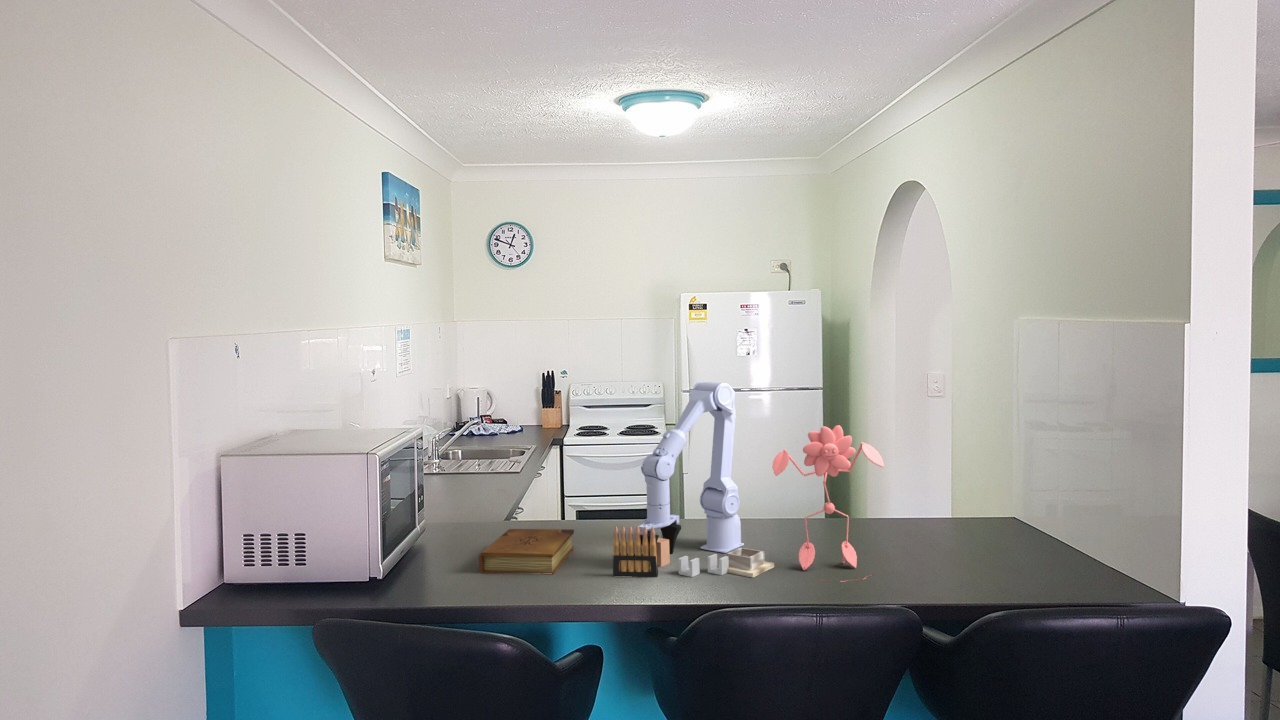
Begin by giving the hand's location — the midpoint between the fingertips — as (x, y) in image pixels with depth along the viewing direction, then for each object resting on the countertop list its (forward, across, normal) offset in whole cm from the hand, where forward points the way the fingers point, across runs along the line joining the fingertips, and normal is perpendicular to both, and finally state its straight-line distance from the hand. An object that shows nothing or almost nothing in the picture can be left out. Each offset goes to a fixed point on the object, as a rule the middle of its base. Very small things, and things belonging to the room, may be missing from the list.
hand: (659, 557), depth 213 cm
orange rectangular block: (+2, 0, 0) cm, 2 cm away
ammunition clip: (+2, +11, +1) cm, 11 cm away
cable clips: (+2, 0, +14) cm, 14 cm away
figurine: (+2, -17, +38) cm, 42 cm away
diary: (+2, +16, -30) cm, 34 cm away
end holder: (+2, -8, +20) cm, 22 cm away
